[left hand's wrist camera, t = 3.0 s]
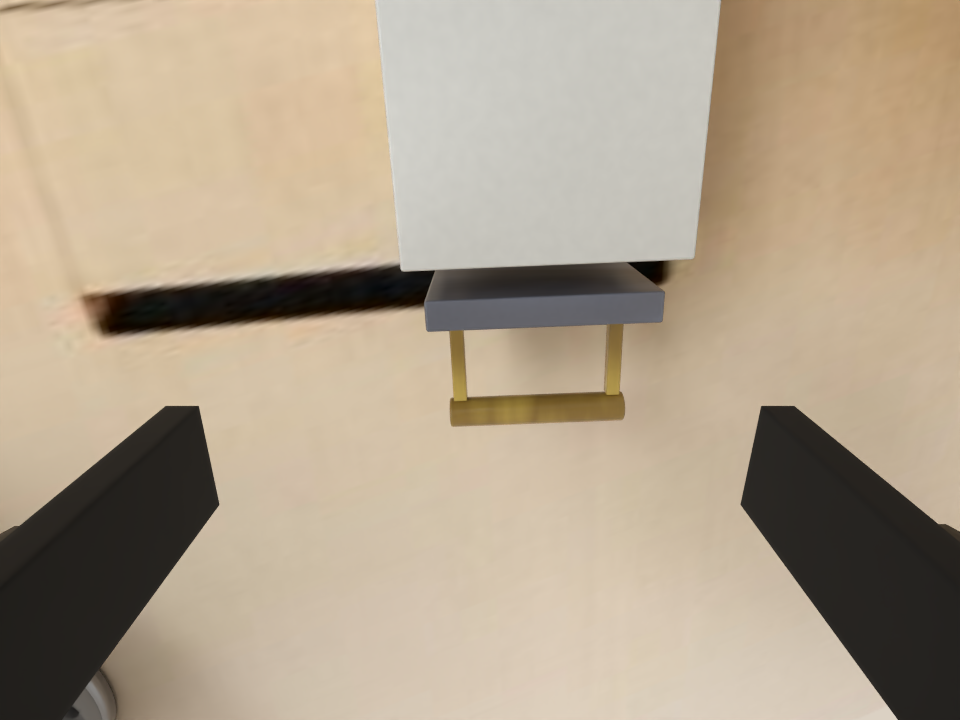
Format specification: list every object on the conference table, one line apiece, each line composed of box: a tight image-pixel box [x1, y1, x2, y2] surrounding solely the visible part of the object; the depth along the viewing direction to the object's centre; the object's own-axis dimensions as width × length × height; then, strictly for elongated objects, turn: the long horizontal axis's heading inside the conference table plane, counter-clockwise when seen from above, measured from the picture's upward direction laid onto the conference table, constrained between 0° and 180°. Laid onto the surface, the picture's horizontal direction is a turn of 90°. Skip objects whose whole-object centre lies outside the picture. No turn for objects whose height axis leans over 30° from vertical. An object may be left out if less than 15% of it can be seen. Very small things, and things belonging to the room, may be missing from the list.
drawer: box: [424, 262, 665, 427], centre depth 22 cm, size 26×9×9 cm, turn 2°
